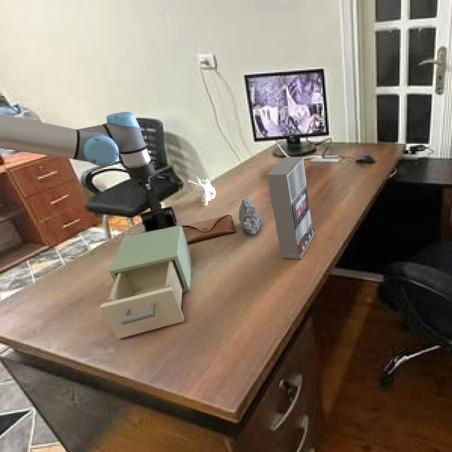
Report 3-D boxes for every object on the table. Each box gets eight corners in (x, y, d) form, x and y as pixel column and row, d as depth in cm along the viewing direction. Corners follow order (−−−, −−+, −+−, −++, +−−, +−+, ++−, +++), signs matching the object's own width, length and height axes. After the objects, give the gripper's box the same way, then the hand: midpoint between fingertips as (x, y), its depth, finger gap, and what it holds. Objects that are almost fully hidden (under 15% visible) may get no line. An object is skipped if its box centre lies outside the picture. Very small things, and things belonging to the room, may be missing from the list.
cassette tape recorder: (302, 260, 97) (289, 175, 84) (281, 258, 98) (265, 174, 86) (315, 234, 108) (306, 156, 96) (296, 233, 110) (285, 156, 98)
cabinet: (189, 291, 89) (177, 255, 83) (126, 307, 85) (108, 271, 80) (191, 257, 103) (181, 224, 97) (137, 269, 99) (123, 237, 94)
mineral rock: (254, 240, 108) (247, 211, 103) (224, 237, 111) (216, 209, 107) (272, 220, 119) (267, 193, 114) (244, 218, 122) (238, 192, 117)
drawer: (183, 333, 74) (170, 301, 70) (113, 352, 71) (95, 320, 67) (186, 281, 91) (176, 252, 86) (130, 294, 88) (116, 266, 83)
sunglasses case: (179, 247, 107) (173, 226, 107) (181, 247, 114) (175, 228, 114) (237, 231, 113) (232, 211, 113) (236, 233, 120) (231, 214, 120)
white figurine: (206, 206, 134) (199, 182, 129) (188, 206, 135) (181, 183, 131) (220, 193, 144) (215, 171, 139) (204, 193, 145) (198, 171, 141)
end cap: (177, 220, 125) (171, 203, 122) (178, 228, 119) (171, 211, 116) (146, 228, 122) (140, 210, 118) (146, 237, 116) (139, 219, 113)
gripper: (158, 170, 102) (180, 233, 112) (145, 152, 120) (165, 207, 131) (130, 177, 98) (156, 241, 109) (121, 158, 117) (143, 214, 127)
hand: (161, 223), depth 120 cm, fingers open, 13 cm apart
